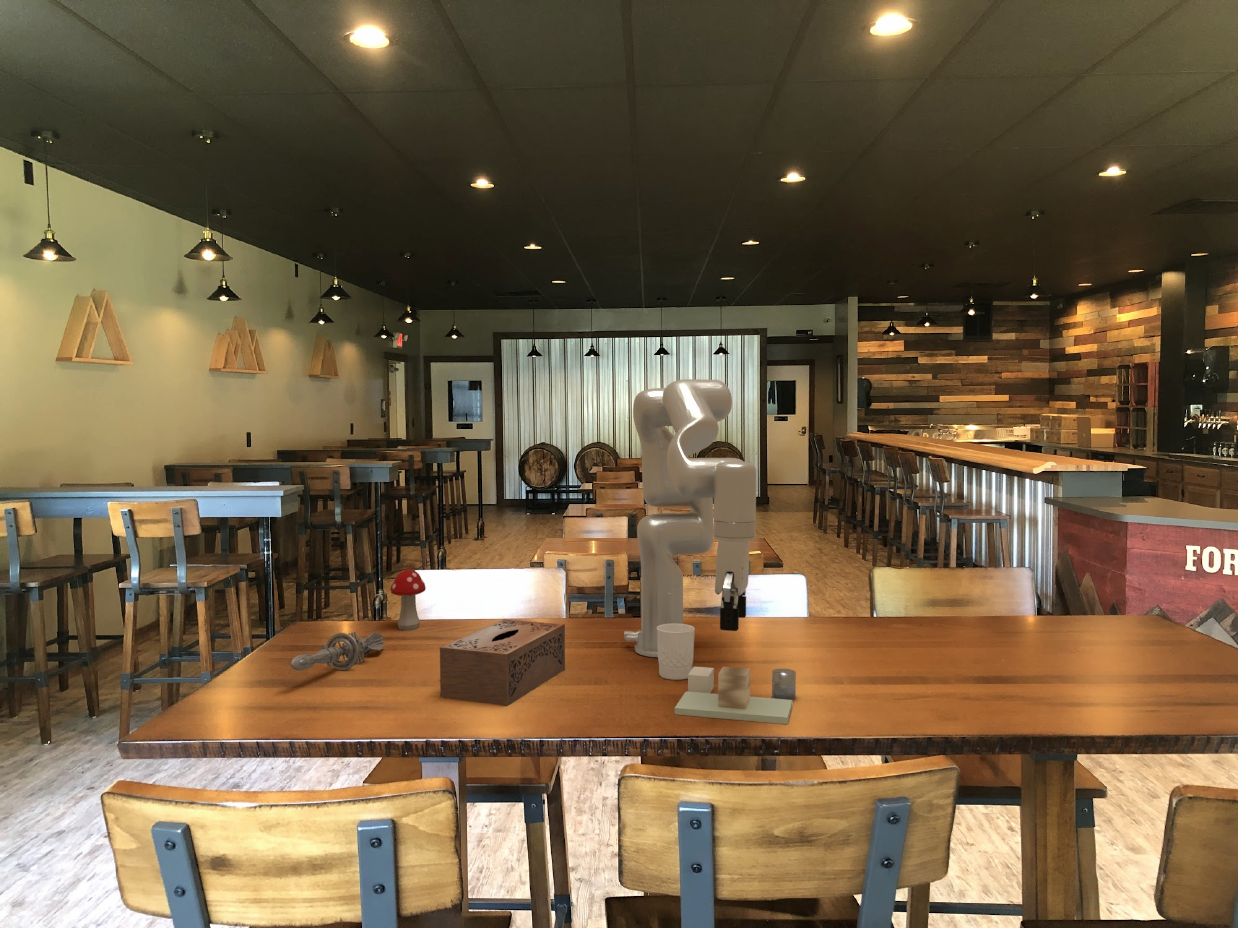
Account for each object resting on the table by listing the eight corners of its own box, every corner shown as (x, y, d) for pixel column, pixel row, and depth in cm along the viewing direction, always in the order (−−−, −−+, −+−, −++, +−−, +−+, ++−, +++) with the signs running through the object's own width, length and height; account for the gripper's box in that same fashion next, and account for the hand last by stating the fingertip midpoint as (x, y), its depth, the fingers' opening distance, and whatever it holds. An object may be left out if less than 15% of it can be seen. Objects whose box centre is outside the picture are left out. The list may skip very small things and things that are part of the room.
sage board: (674, 714, 160) (674, 707, 160) (685, 697, 169) (685, 691, 169) (787, 724, 154) (787, 717, 154) (792, 706, 164) (792, 699, 164)
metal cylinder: (770, 700, 168) (771, 673, 168) (773, 693, 172) (773, 667, 172) (794, 702, 167) (794, 675, 166) (796, 695, 171) (796, 669, 171)
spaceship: (269, 651, 174) (302, 638, 172) (362, 629, 207) (391, 618, 206) (281, 691, 172) (315, 677, 171) (373, 662, 206) (402, 651, 205)
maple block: (718, 706, 160) (718, 673, 160) (722, 698, 165) (722, 666, 165) (746, 709, 159) (746, 676, 158) (749, 700, 164) (750, 668, 163)
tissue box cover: (504, 664, 194) (504, 619, 194) (565, 670, 189) (564, 624, 188) (440, 698, 170) (439, 647, 170) (507, 707, 165) (506, 654, 164)
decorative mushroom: (400, 622, 233) (399, 565, 232) (431, 623, 232) (430, 566, 231) (385, 631, 223) (384, 572, 223) (417, 632, 222) (417, 573, 221)
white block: (687, 695, 171) (687, 674, 171) (693, 686, 177) (693, 666, 177) (708, 696, 170) (708, 676, 170) (713, 687, 176) (713, 667, 176)
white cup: (698, 671, 187) (698, 624, 186) (689, 682, 179) (689, 633, 179) (662, 668, 189) (662, 622, 189) (651, 678, 182) (651, 630, 181)
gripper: (721, 522, 170) (720, 611, 171) (705, 536, 153) (704, 633, 154) (761, 524, 168) (759, 613, 169) (749, 538, 151) (747, 637, 152)
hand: (733, 623), depth 162 cm, fingers open, 9 cm apart
